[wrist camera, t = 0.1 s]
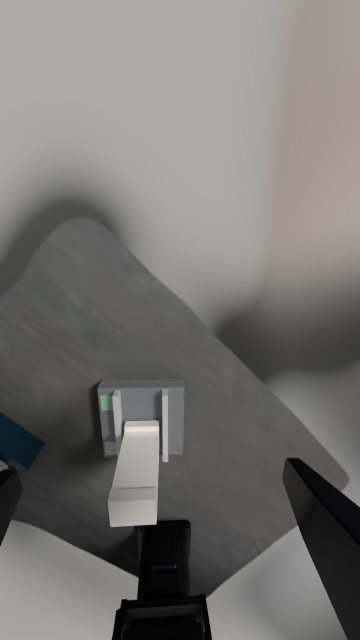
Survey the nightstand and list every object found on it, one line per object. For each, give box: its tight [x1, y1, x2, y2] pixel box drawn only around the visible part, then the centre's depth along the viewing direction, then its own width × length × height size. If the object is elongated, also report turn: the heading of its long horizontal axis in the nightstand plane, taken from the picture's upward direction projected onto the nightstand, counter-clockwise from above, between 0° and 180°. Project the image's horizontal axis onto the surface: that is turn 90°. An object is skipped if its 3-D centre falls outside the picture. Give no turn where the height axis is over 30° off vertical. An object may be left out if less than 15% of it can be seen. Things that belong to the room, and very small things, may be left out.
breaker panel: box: [97, 379, 184, 462], centre depth 23 cm, size 8×8×2 cm
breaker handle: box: [108, 420, 159, 527], centre depth 20 cm, size 3×3×7 cm
